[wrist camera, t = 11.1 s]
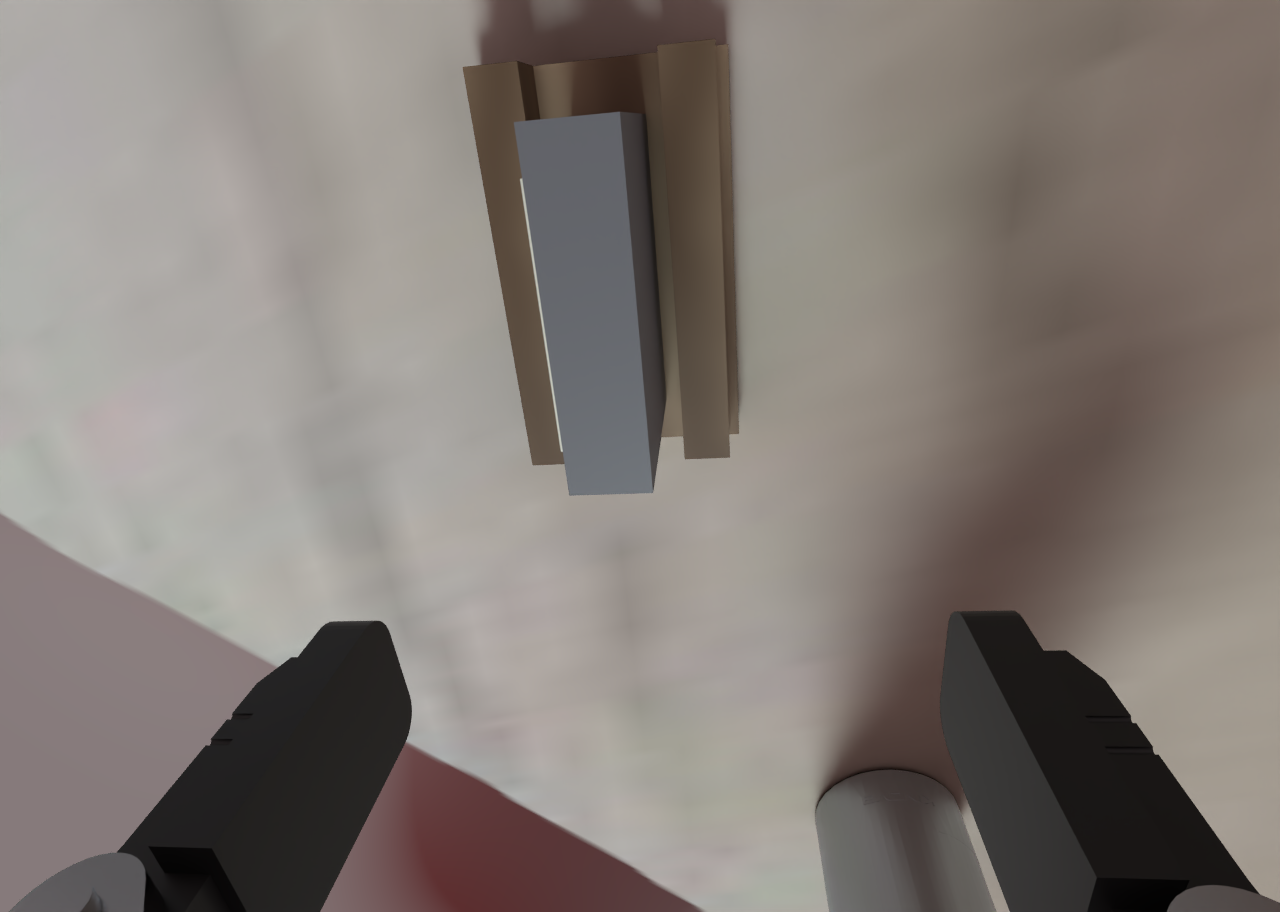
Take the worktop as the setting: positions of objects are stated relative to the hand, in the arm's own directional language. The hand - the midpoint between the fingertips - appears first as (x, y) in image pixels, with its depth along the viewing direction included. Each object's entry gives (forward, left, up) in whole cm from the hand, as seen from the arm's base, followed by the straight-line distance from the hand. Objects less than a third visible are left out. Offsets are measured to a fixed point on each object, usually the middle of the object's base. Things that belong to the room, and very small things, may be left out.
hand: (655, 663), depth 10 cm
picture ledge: (+1, +3, -24) cm, 24 cm away
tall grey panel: (+1, +3, -22) cm, 23 cm away
